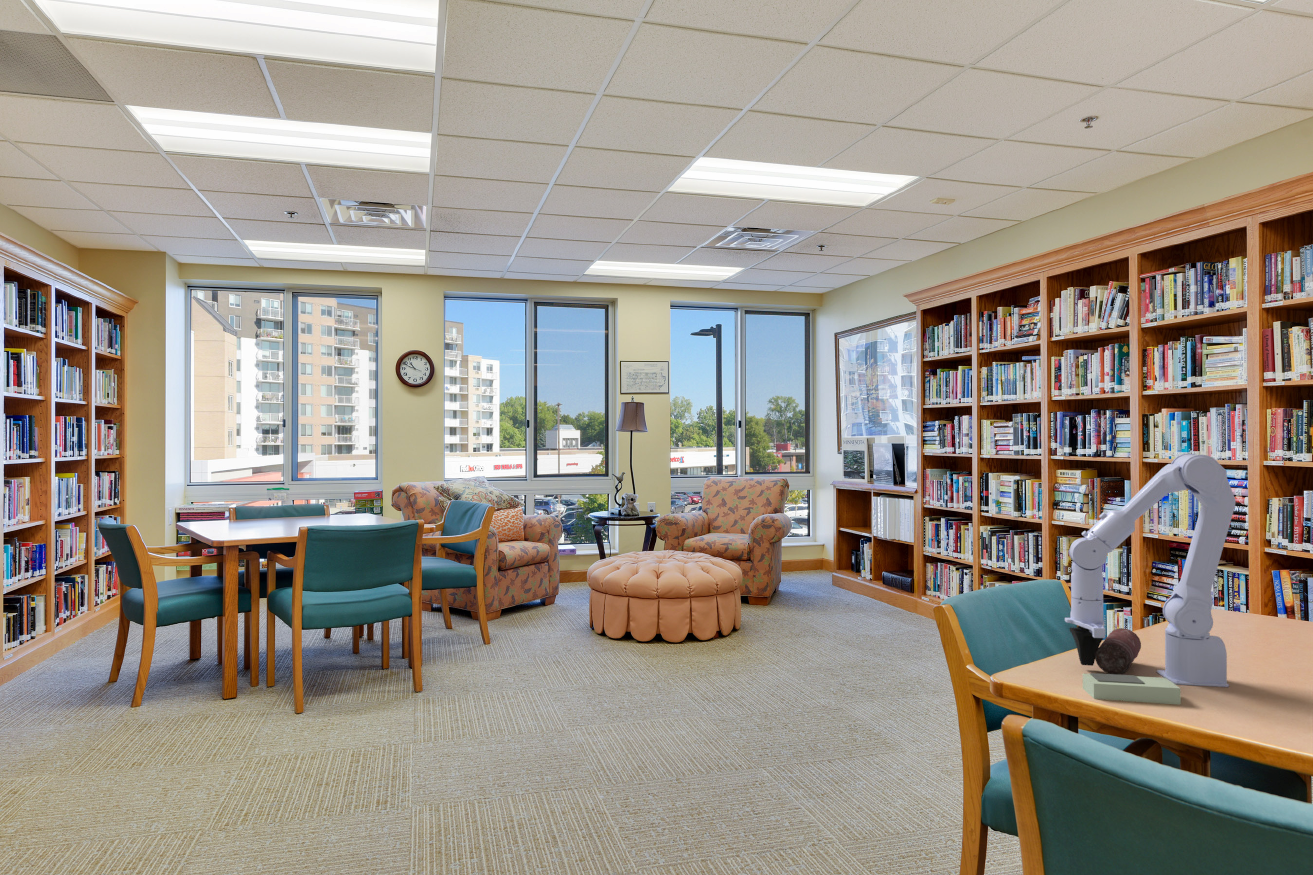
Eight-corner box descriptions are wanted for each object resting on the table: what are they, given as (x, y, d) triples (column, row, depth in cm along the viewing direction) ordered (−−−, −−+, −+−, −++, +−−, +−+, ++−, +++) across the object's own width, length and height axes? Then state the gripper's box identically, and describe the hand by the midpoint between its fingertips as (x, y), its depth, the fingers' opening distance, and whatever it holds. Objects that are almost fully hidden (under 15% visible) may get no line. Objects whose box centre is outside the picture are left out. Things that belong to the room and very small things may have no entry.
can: (1137, 668, 151) (1149, 648, 162) (1114, 639, 154) (1128, 621, 164) (1109, 681, 155) (1123, 661, 165) (1087, 653, 157) (1102, 635, 168)
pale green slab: (1165, 693, 143) (1164, 676, 143) (1180, 705, 137) (1180, 686, 137) (1082, 688, 146) (1082, 671, 146) (1093, 700, 140) (1093, 682, 140)
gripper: (1055, 589, 166) (1054, 653, 166) (1077, 604, 152) (1077, 674, 152) (1091, 591, 164) (1091, 655, 164) (1117, 606, 150) (1116, 676, 150)
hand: (1086, 664), depth 158 cm, fingers closed
